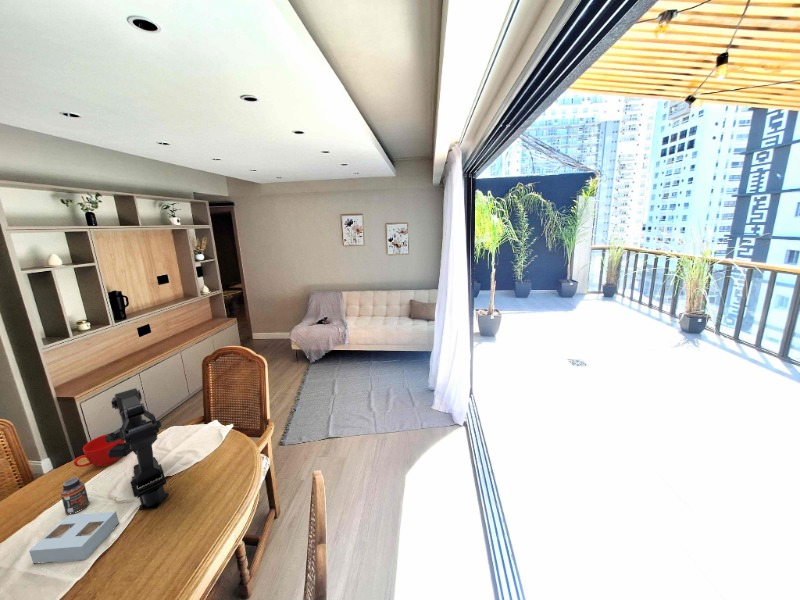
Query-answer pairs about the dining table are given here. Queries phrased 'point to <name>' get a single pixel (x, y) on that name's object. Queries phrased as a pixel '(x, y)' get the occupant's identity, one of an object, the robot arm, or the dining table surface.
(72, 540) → the block
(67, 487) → the supplement bottle
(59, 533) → the plunger
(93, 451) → the ceramic cup
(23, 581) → the dining table surface
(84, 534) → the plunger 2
